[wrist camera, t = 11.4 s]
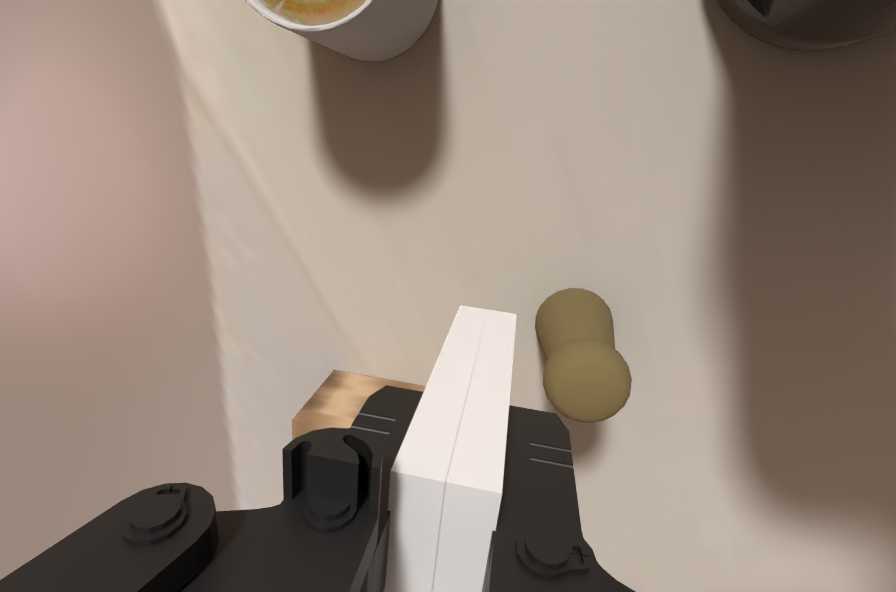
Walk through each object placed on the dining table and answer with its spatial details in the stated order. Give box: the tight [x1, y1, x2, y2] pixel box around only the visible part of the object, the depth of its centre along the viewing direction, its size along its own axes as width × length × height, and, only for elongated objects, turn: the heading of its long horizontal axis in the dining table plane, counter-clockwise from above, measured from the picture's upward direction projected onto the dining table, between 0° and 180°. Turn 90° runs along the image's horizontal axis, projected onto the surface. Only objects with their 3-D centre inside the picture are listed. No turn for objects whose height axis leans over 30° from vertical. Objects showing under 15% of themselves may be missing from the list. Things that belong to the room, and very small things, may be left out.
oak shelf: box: [292, 370, 426, 440], centre depth 41 cm, size 12×18×8 cm, turn 174°
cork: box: [535, 288, 632, 423], centre depth 32 cm, size 6×6×11 cm
